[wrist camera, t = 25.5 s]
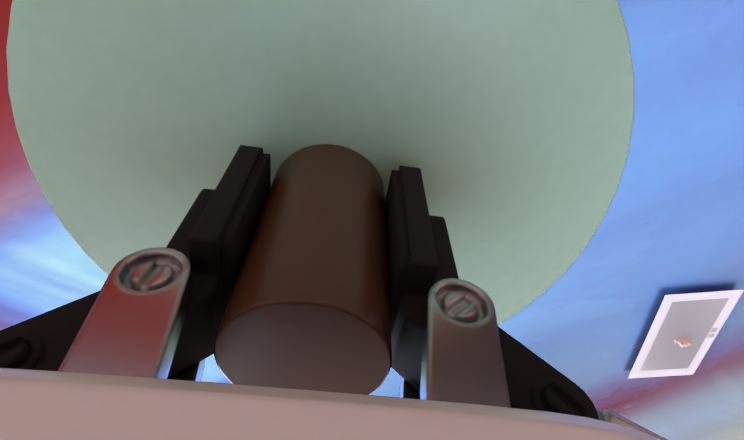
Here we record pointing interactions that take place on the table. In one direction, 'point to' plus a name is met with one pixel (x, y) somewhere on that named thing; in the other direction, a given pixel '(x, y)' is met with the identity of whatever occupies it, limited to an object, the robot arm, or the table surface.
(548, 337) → the table surface
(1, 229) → the table surface
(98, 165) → the pot lid
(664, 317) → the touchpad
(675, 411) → the table surface
